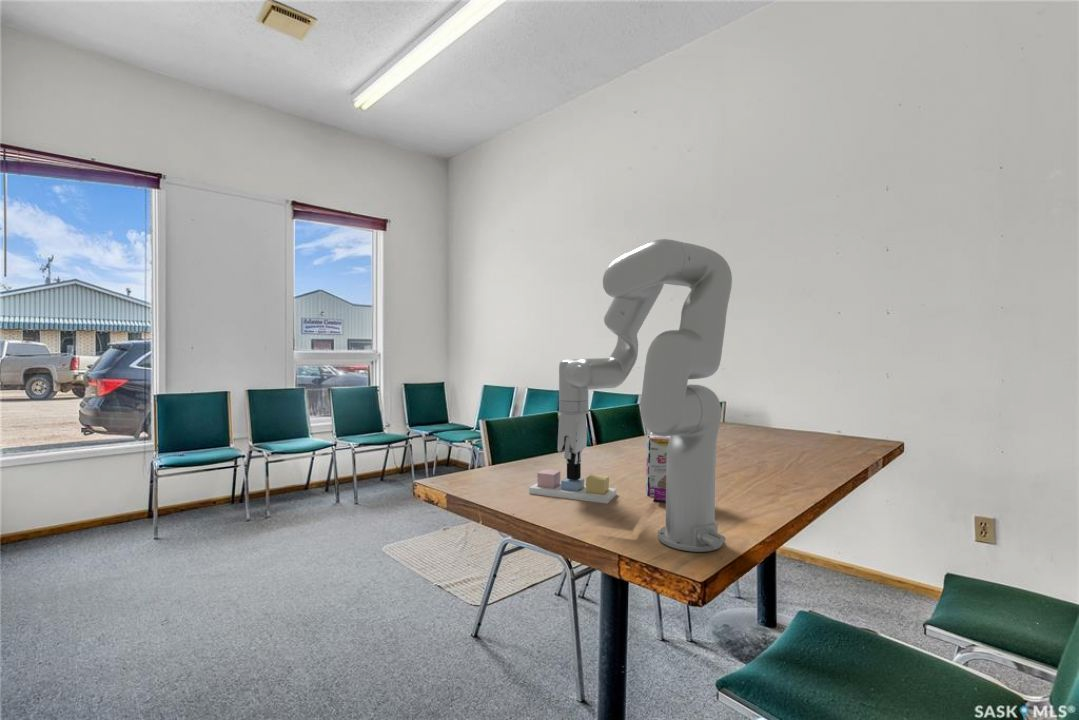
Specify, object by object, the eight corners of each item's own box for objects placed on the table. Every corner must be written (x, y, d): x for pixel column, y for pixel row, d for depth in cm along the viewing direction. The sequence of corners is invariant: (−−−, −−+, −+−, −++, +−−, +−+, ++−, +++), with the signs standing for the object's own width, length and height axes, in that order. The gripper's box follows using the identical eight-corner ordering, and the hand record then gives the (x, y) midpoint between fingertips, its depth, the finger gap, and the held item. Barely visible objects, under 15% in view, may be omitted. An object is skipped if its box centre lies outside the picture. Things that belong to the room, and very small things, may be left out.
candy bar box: (647, 502, 129) (648, 438, 129) (645, 496, 134) (646, 434, 134) (692, 504, 128) (693, 439, 128) (688, 498, 133) (689, 435, 133)
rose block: (560, 489, 135) (560, 471, 135) (553, 494, 131) (554, 474, 131) (544, 487, 137) (544, 469, 137) (537, 492, 133) (537, 473, 132)
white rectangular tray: (616, 500, 131) (616, 488, 131) (607, 509, 123) (607, 497, 123) (541, 490, 139) (541, 480, 139) (529, 499, 131) (529, 487, 131)
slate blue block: (583, 497, 132) (584, 478, 132) (578, 502, 128) (578, 482, 128) (567, 495, 134) (567, 476, 134) (561, 500, 130) (561, 480, 130)
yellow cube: (608, 495, 130) (608, 476, 130) (603, 500, 126) (603, 480, 125) (591, 493, 132) (591, 474, 131) (585, 498, 127) (586, 478, 127)
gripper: (569, 404, 139) (569, 471, 139) (549, 409, 125) (549, 484, 125) (596, 405, 136) (596, 473, 136) (578, 410, 122) (578, 487, 122)
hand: (573, 478), depth 131 cm, fingers closed
